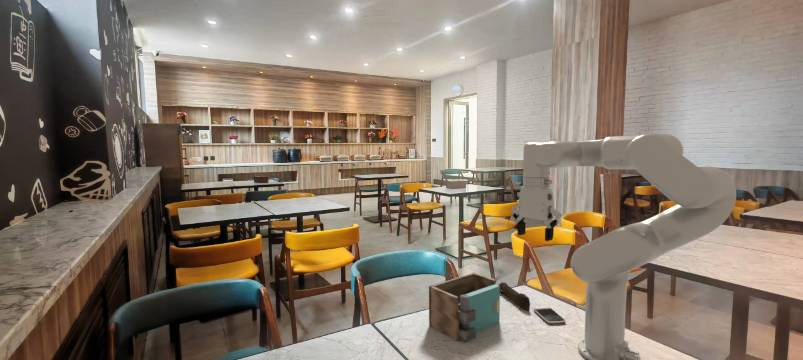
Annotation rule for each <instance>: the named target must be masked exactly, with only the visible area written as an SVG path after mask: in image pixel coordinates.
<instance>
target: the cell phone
mask: <svg viewBox="0 0 803 360" xmlns="http://www.w3.org/2000/svg"><path fill="white" fill-rule="evenodd" d="M533 312H534V313H535V314H536V315H538V316H539V318H540V319H542V321H544V322H545V323H546V324H547V325H564V324H566V319H565V318H563V316H561V315H560V314H558V313H557V312H556V311H555V310H554V309H552V308H551V307H543V308H542V307H541V308H533Z"/></svg>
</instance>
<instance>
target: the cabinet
mask: <svg viewBox="0 0 803 360" xmlns="http://www.w3.org/2000/svg"><path fill="white" fill-rule="evenodd" d="M494 284H496V285H497V280H496V279H495V278H492V277H488V276H485V275H483V274H480V273H478V272H471V273H468V274H465V275H462V276H458V277H454V278H452V279H448V280H445V281H441V282H438V283H434V284H432V285H428V326H429V327H431V328H432V329H434V330H436V331H438V332H440V333H441V334H443V335H445V336H446V337H448V338H450V339H452V340H453V341H455V342H456V341H460V342H462V343H467V342H469V341H471V340H473V339H476V337H477V336H476V333H477V332H476V328H474V327H471V328H469V329H467V330H462V329H460V323H462V324H464V325H465V324H467V323H470V322H472V321H474V320H476V310H474V309H472V310H470V311H467V312H462V311H460V296H461V295H465V294H468V293H471V292H474V291H477V290H480V289H483V288H486V287H488V286H491V285H494Z"/></svg>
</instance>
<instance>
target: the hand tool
mask: <svg viewBox="0 0 803 360" xmlns="http://www.w3.org/2000/svg"><path fill="white" fill-rule="evenodd" d="M497 285H498V286H500V294H503V295H505V296H506V297H508V298H509V299H510V300H512V301H513V302H514V303H516V306H518V307H519V308H521V309H522V310H525V311H528V312H529V311H530V306H531V302H530V298H529V297H528V296H527V295H526V294H524V293H520V292H518V291H517V290H515V289H513V288H512V287H511V286H509V285H508V284H507V282H500V283H499V284H497ZM501 290H502V291H501Z"/></svg>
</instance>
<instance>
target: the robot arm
mask: <svg viewBox="0 0 803 360" xmlns="http://www.w3.org/2000/svg"><path fill="white" fill-rule="evenodd" d="M683 147H684V146H683V144H682V142H681V141H680V140H679V138H677V137H676V136H674V135H672V134H669V133H645V134H637V135H636V134H635V135H616V136H613V135H612V136H606V137H605V138H603V139H596V140H595V139H594V140H578V141H577V140H570V141H569V140H568V141H567V140H566V141H565V140H561V141H560V140H559V141H558V140H557V141H556V140H555V141H549V142H542V141H541V142H526V143H525V144H524V145H523V158H522V159H523V163H522V166H523V167H522V169H523V171H522V186H521V187H520V192H519V198H518V204H516V205H514V206H512V207H510V211H511V213H512V217H513V218H514V219H515V222H516V223H517V228H516V229H517V236H523V235H525V234H526V225H527V223H526V222H525V220H526V219H528V220H533V221H540V222H543V223H544V225H545V226H546V227H545V228H544V241H545V242H550V241H553V238H554V231H555V229H554V228H555V227H557V225H558V224H559V223H560V221H561V220H562V217H563V214H562V213H561V212H559V211H558V210H556V209H555V202H554V201H555V200H554V195H553V194H554V192H553V190H552V187H550V186H551V185H553V180H552V179H551V180H550V168H553V169H554V168H568V167H601V168H604V169H606V170H636V172H638V174H640V176H642V177H643V178H644V179H645V180H647V181H648V182H649V183H650V184H651V185H652V186H653V187H655V188H656V189H657V190H658V192H660V193H662V194H663V195H664V196H665V197H666V198H667V199H669V200H670V201H671V202H673V203H674V204H675V205H674V206H672V207H670V208H668V209H664V210H663V211H662V212H660V213H657V214H656V215H653V216H652V217H650V218H647V219H645V220H642V221H639V222H635V223H631V224H630V223H629V224H627V225H624V226H621V227H619V228H616V229H614V230H612V231H610V232H607V233H606V234H603V235H601V236H599V237H598V238H595V239H593V240H592V241H589V242H587V243H585V244H583V245H581V246H580V247H578V248H577V249H575V251H574V252H573V253H572V255H571V259H570V268H571V270H572V273H573V274H574V275H575V276H576V277H577V279H579V280H581V281H582V282H585V283H586V287H585V288H586V289H585V290H586V292H585V293H586V294H585V311H584V312H585V314H584V315H585V316H584V317H585V318H584V339H583V340H580V341H579V342H578V344H577V346H578V348H577V350H578V352H579V353H580V354H581V356H582V357H584V358H586V359H587V360H641V356H640V352H639V351H636V350H633V349H631V348H630V347H629V342H628V341H626V340H625V330H626V310H627V290H628V282H629V276H630V272H631V271H633V270H635V269H637V268H639V267H643V266H645V265H646V264H649V263H651V262H652V261H654V260H657V259H658V258H659V257H661V256H663V255H664V254H667V253H670V252H671V251H674V250H675V249H679V248H681V247H683V246H685V245H688V244H689V243H691V242H694V241H696V240H698V239H700V238H703V237H705V236H706V235H710V233H712V232H713V231H716V229H718V228H719V227H720V226H721V225H722V224H724V223H725V222H726V220H728V218H729V217H730V215H731V213H732V212H733V210H734V208H735V204H736V200H737V188H736V184H735V181H734V180H733V178H732V176H731V175H730V174H729V173H728V172H727V171H725V170H723V169H721V168H718V167H716V166H715V167H714V166H697V165H696V164H694V163H693V162H692V161H690V160H689V159H688V158H687V157H685V156H684V148H683Z"/></svg>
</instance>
